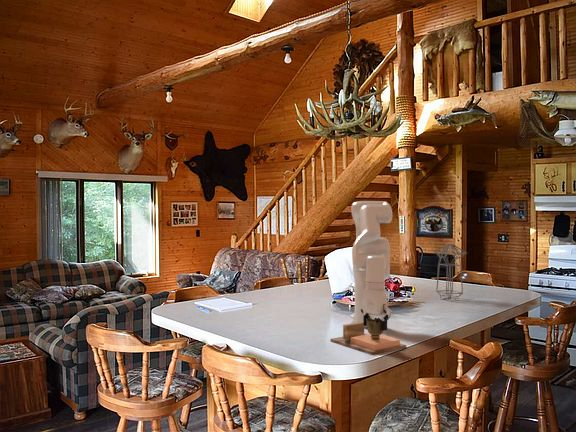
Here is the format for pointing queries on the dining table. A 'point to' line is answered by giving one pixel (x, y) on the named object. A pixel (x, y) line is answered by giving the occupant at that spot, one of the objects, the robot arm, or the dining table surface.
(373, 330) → the cup
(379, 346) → the tile
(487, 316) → the dining table surface
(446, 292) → the geometric lantern
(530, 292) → the dining table surface
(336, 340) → the walnut board
